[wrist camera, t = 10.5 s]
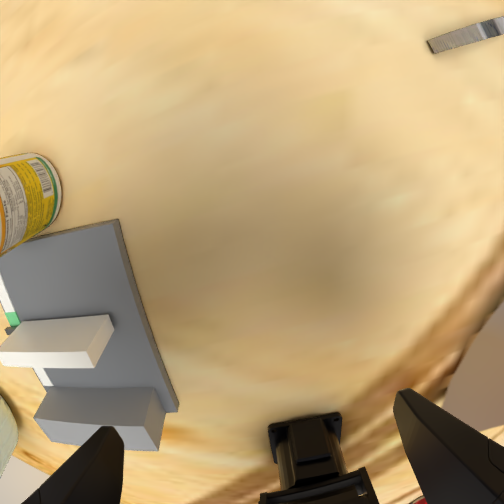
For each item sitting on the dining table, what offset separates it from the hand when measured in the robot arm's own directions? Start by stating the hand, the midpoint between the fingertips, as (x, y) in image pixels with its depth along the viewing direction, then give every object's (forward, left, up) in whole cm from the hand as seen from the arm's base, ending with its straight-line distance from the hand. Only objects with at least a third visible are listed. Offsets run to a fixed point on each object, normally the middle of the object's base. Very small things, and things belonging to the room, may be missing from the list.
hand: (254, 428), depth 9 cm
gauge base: (-3, +13, -12) cm, 18 cm away
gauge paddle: (-2, +14, -11) cm, 18 cm away
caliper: (+17, -23, -12) cm, 31 cm away
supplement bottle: (+7, +13, -12) cm, 19 cm away
